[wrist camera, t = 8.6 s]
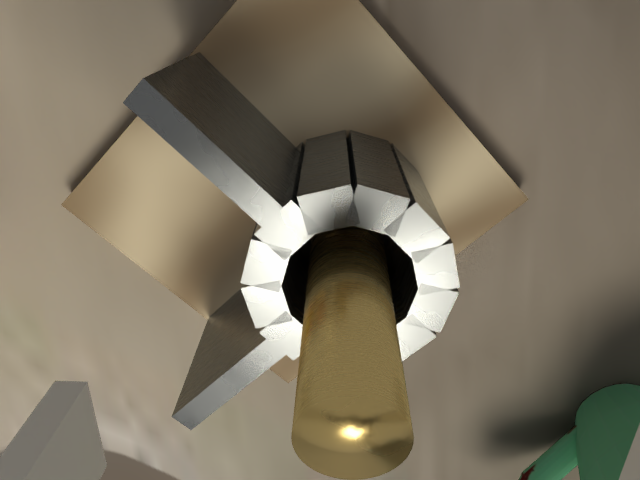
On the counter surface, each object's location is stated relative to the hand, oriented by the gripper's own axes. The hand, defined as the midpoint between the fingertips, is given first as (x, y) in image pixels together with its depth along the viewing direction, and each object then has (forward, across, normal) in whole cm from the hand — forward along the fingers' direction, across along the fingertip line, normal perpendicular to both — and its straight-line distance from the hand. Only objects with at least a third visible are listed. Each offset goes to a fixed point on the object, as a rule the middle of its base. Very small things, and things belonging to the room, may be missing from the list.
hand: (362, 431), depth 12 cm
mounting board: (+14, +3, -1) cm, 15 cm away
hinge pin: (+13, 0, 0) cm, 13 cm away
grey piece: (+13, +4, 0) cm, 14 cm away
